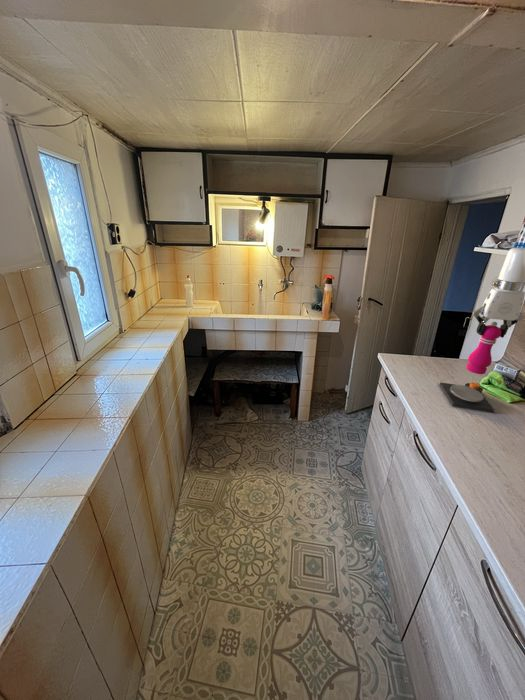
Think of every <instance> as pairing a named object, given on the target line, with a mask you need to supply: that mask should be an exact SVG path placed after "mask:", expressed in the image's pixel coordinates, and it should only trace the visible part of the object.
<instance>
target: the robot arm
mask: <svg viewBox="0 0 525 700" xmlns="http://www.w3.org/2000/svg"><path fill="white" fill-rule="evenodd" d="M502 264H503V265H502V266H501V269H500V272H499V275H498V277H497V279H496V280H495V281H491V283H490V284H491V286H493V287H492V288H491V289H490V291H489V292H488V294H487V296H486V298H485V300H484V301H483V303H482V306H481V307H479V308H477V309H476V310H474V311H472V315H473V317H475V319H476V321H477V322H478V325H477V327H476V330H475V331H476V334H477V335H479V336H481V335H483V332H484V330H485V327H486V326H487V325H486V324H487V322H488V321H489V320H500V321H502V322H503V323H502V324H500V327H499V328H500V329H501V336H500V337H499V338H501V339H504V337H505V335H507V332H508V330H509V328H512V326H514V325H515V324H517V323H518V322H521V321H522V320H524V319H525V317H524V316H523V314H522V312H521V311H522V308H523V305H524V301H525V291H523V290H524V288H525V247H519V246H518V247H517V246H516V247H512V248H510V249H509V250H508V252H507V254H506V256H505V258H504V262H503V263H502ZM480 315H482V316H480Z"/></svg>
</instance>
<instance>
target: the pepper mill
mask: <svg viewBox="0 0 525 700" xmlns="http://www.w3.org/2000/svg"><path fill="white" fill-rule="evenodd" d="M500 336H501V329H500V327H499V326H498V323H497V321H491V323H490V324H488V325H486V327H485V330H484V332H483V335H480V337H479V339H478V341H479V343H478V345H477V347H476V348H475V349H474V350H473V351H471V353H470V354H469V355H468V357H467V361H468V363H467V364H466V366H465V369H466V370H467V371H468V372H471V373H473V374H476V375H485V374H486V372H487V370H488V369H487V368H489V366H491V364H492V361H493V359H492V358H493V357H492V348H493V346H494V345H495V344H497V343H496V342H497V339H499V338H501V337H500Z"/></svg>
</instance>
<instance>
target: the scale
mask: <svg viewBox="0 0 525 700" xmlns="http://www.w3.org/2000/svg"><path fill="white" fill-rule="evenodd" d="M470 383H471V382H467V383H465V384H464V386H467V387H469V386H470ZM438 385H439V387H440V389H441V391H442V392H443V394H444V396H445V397H446V399H447V400H448V402H449V403H450V405H451V407H455V408H461V409H467V410H474V411H480V412H486V413H487V412H488V413H492V414H493V413H494V412H495V408H494V407H493V405H492V404H491V403H490V402H489V400H487V398H486V397H485V396H484V395H483V397H484V398H483V400H482V401H480V402H471V401H467V400H463V399H461V398H459V397H457V396H455V395H454V394H452V393H451V391H450V388H451V386H453V385H456V384H455V383H447V382H439V383H438ZM475 390H476V389H475ZM477 391H479V392H480V393H481V394H483V391H484V388H483V387H482V386H480V387H479V389H478V390H477Z"/></svg>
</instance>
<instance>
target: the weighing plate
mask: <svg viewBox="0 0 525 700" xmlns="http://www.w3.org/2000/svg"><path fill="white" fill-rule="evenodd" d="M450 391H451V393H452V394H454V395H455V396H457V397H459V398H461V399H463V400H467V401H471V402H480V401H482V400H483V398H484V397H485V396H484V395H483V393H480V392H479V391H477V390H475V389H473V388H470V387H467V386H465V385H462V384H455V385H453V386H451V388H450ZM483 396H484V397H483Z"/></svg>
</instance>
